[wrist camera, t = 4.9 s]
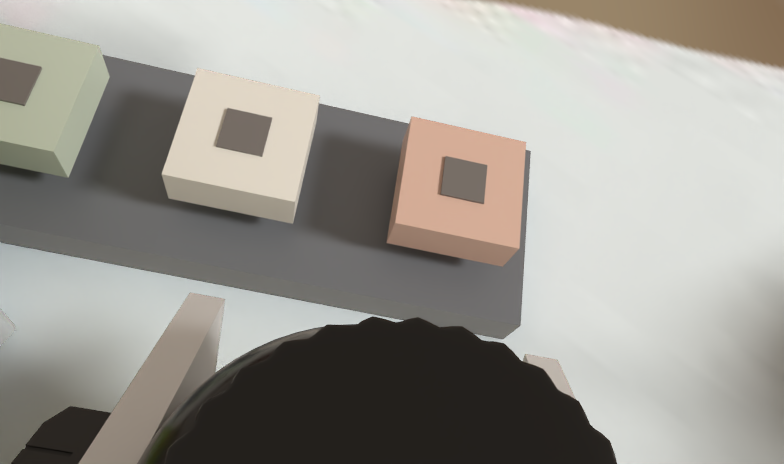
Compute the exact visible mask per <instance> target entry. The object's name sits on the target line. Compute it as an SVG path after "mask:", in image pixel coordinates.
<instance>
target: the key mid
mask: <svg viewBox="0 0 784 464" xmlns="http://www.w3.org/2000/svg"><path fill="white" fill-rule="evenodd" d="M319 98H320V96H319V95H315V94H310V93H306V92H301V91H297V90H292V89H288V88H284V87H279V86H275V85H270V84H266V83H261V82H257V81H253V80H248V79H244V78H239V77H235V76H231V75H226V74H222V73H217V72H213V71H208V70H204V69H200V68H197V71H196V74H195V77H194V80H193V83H192V86H191V89H190V92H189V95H188V98H187V101H186V104H185V107H184V110H183V112H182V115H181V118H180V121H179V124H178V127H177V130H176V133H175V136H174V139H173V142H172V145H171V148H170V151H169V154H168V157H167V160H166V163H165V165H164V168H163V171H162V177H163V181H164V184H165V188H166V191H167V195H168V198H169V199H174V200H179V201H184V202H189V203H194V204H199V205H203V206H208V207H213V208H218V209H223V210H228V211H233V212H238V213H243V214H247V215H252V216H257V217H262V218H267V219H272V220H277V221H282V222H286V223H291V224H293V221H294V217H295V213H296V208H297V204H298V200H299V195H300V191H301V187H302V182H303V178H304V174H305V169H306V165H307V161H308V156H309V152H310V148H311V143H312V139H313V135H314V130H315V126H316V121H317V113H318V106H319Z"/></svg>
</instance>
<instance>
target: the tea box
mask: <svg viewBox="0 0 784 464" xmlns="http://www.w3.org/2000/svg"><path fill="white" fill-rule="evenodd" d="M15 331H16V327H15V325H14V324H13V323H12V321H11V320H10V319H9V318H8V317H7V315H6V314H5V313H4V312H3V311H2V310H1V309H0V347H1V346H2V345H3V344H4V342H5V341H6V340H7V339H8V338H9V337H10V336H11V335H12V334H13V333H14V332H15Z"/></svg>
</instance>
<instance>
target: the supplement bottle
mask: <svg viewBox="0 0 784 464" xmlns="http://www.w3.org/2000/svg"><path fill="white" fill-rule="evenodd" d="M137 464H617V462H616V458H615V454H614V451H613V448H612V446H611V443H610V441H609V440H608V439H607V438H606V437H605V436H604V435H603V434H602V433H600V432H599V431H597V430H595V429H594V428H593V427H592V426H591V425H590V424H589V421H588V419H587V416H586V414H585V412H584V410H583V408H582V406H581V405H580V403H579V401H577V400H576V399H574V398H573V397H571V396H570V395H567V394H565V393H563V392H561V391H559V390H558V389H557V388H556V386H555V384H554V383H553V381H552V380H551V378H550V377H549V375H548V374H547V373H546V372H545V370H544V369H543V368H540V367H538V366H535V365H533V364H529V363H526V362H523V361H521V360H520V359H519V358H518V357H517V356H516V355H515V354H514V352H513V351H512V350H511V349H509V348H508V347H507V346H506V345H505V344H504V343H499V342H494V341H491V342H488V341H483V340H481V339H479V338H478V337H477V336H476V335H474V334H473V333H472V332H470V331H469V330H467V329H466V328H464V327H463V326H448V327H438V326H436V325H434V324H432V323H430V322H428V321H426V320H424V319H421V318H419V317H416V318H411V319H407V320H404V321H402V322H397V323H395V322H392V321H389V320H386V319H382V318H377V317H370V318H368V319H366V320H363V321H361V322H360V323H359V324H352V325H326V326H325V327H319V328H314V329H310V330H305V331H301V332H297V333H293V334H290V335H287V336H284V337H281V338H278V339H275V340H273V341H271V342H268V343H266V344H264V345H262V346H259V347H257V348H255V349H253V350H251V351H249V352H248V353H246V354H244V355H242V356H240V357H239V358H237V359H235V360H233V361H232V362H230V363H229V364H228V365H226V366H225V367H223V368H222V369H220V370H219V371H217V372H216V373H214V374H213V375H212V376H211V377H210V378H208V379H207V380H206V381H205V382H204V383H202V384H201V385H200V386H199V387H197V388H196V389H195V390H194V391H193V392H192V393H191V394H190V395H189V396H188V397H187V398H186V399H185V400H184V401H183V402H182V403H181V404H180V405H179V406H178V407H177V408H176V410H175V411H174V412H173V413H172V414H171V415H170V417H169V418H168V419H167V420H166V421H165V422H164V424H163V425H162V426H161V428H160V429H159V430H158V432H157V433H156V435H155V436H154V437H153V439H152V440H151V442H150V443H149V445H148V446H147V448H146V449H145V451H144V453H143V454H142V456H141V458H140V460H139V461H138V463H137Z"/></svg>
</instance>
